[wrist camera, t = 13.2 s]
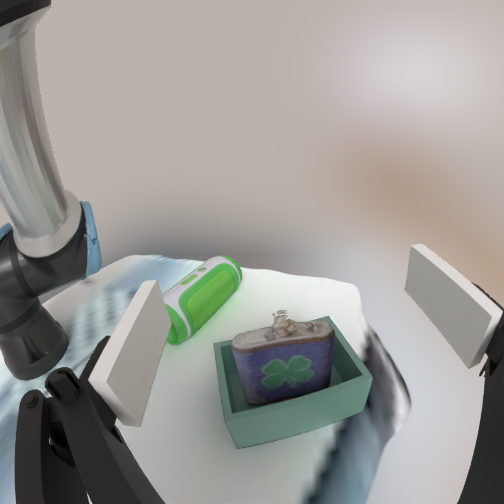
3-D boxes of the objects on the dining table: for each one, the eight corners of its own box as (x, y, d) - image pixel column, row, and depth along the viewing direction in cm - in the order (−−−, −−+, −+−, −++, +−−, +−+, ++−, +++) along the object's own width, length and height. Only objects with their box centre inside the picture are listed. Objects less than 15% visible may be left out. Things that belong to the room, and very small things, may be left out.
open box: (224, 377, 31) (213, 343, 28) (326, 351, 33) (328, 315, 30) (237, 448, 21) (224, 421, 19) (362, 411, 23) (372, 377, 21)
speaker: (215, 285, 53) (207, 250, 50) (247, 291, 50) (241, 253, 47) (154, 339, 39) (138, 300, 36) (188, 353, 36) (173, 311, 33)
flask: (245, 408, 25) (226, 334, 21) (244, 387, 28) (226, 313, 23) (332, 394, 25) (340, 317, 21) (326, 374, 28) (330, 297, 23)
